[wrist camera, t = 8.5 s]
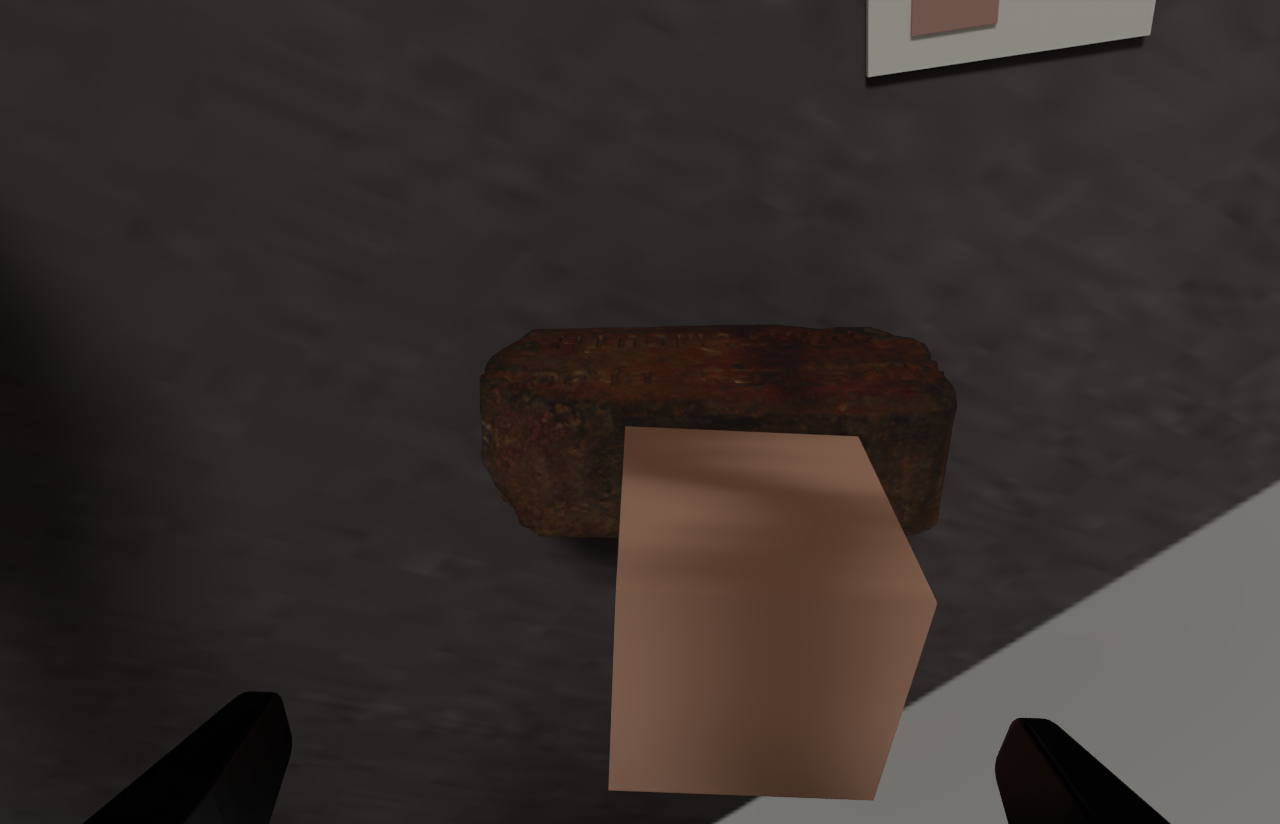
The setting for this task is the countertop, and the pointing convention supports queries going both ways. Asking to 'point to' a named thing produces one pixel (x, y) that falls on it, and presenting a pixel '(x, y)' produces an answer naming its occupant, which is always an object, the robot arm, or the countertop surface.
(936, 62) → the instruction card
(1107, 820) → the robot arm
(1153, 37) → the countertop surface
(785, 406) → the brick
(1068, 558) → the countertop surface
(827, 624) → the top block
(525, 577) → the countertop surface
